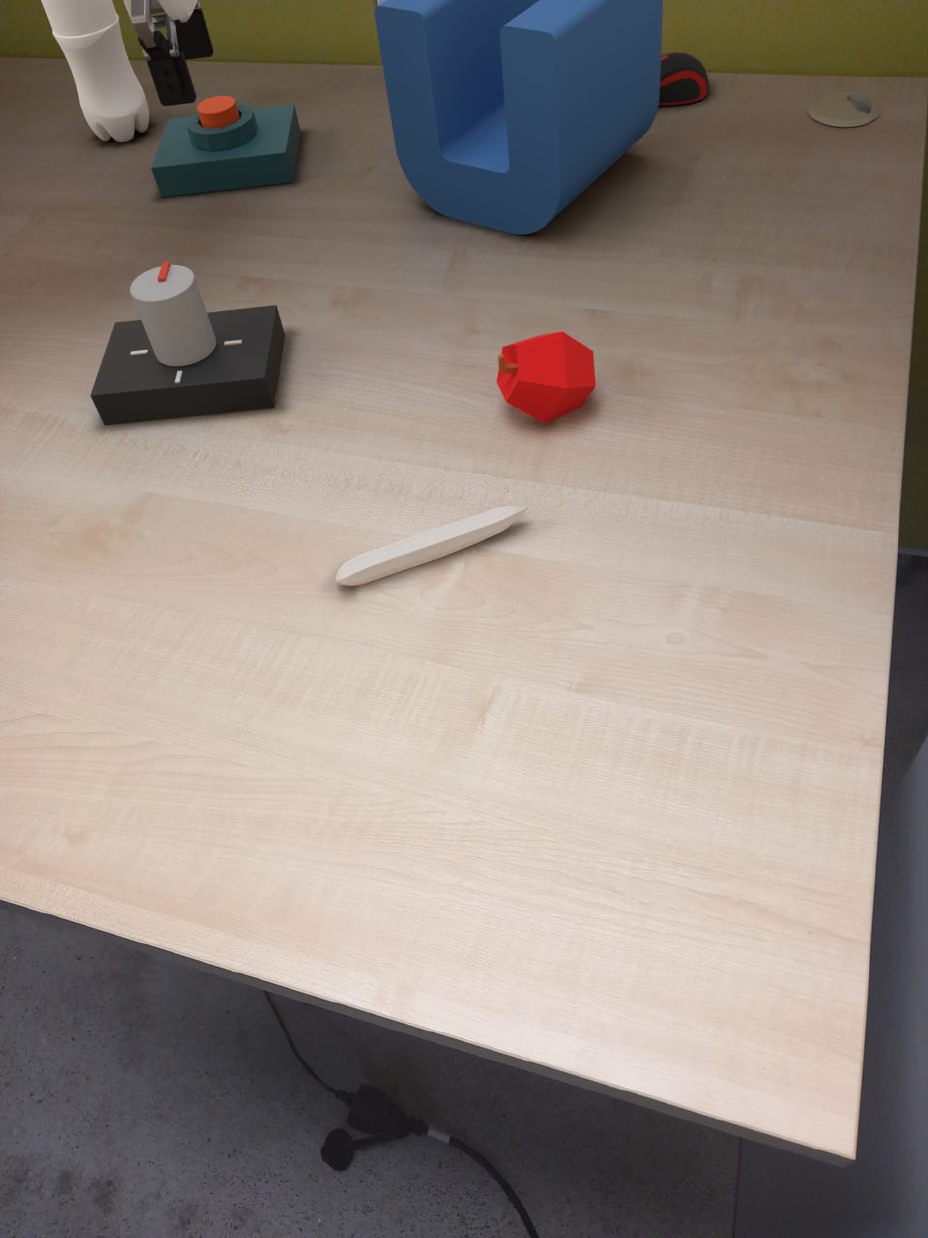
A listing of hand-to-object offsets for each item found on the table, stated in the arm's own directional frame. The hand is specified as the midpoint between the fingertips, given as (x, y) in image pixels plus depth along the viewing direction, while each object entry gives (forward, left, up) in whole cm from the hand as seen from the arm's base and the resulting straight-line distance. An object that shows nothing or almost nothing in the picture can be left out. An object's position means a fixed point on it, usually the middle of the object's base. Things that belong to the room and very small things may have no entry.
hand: (189, 79), depth 94 cm
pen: (+46, -30, -13) cm, 56 cm away
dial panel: (+17, -22, -13) cm, 31 cm away
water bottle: (-24, +9, -13) cm, 29 cm away
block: (+26, +17, -13) cm, 33 cm away
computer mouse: (+29, +38, -13) cm, 49 cm away
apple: (+45, -12, -13) cm, 48 cm away
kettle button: (-6, +8, -8) cm, 13 cm away
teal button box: (-6, +8, -13) cm, 16 cm away
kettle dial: (+17, -22, -10) cm, 30 cm away
